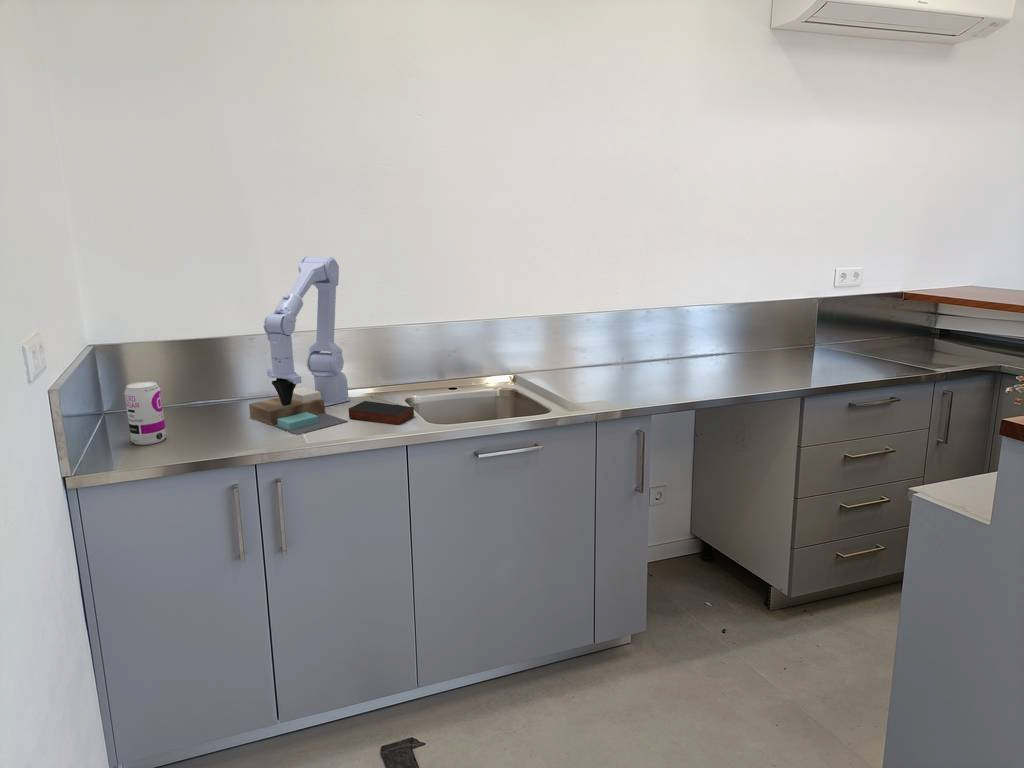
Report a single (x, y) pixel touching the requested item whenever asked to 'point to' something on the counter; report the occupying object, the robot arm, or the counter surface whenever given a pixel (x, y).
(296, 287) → the robot arm
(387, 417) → the kitchen sponge
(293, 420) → the turquoise block
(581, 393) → the counter surface
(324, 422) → the mat
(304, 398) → the cream flat block
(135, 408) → the supplement can
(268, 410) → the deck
